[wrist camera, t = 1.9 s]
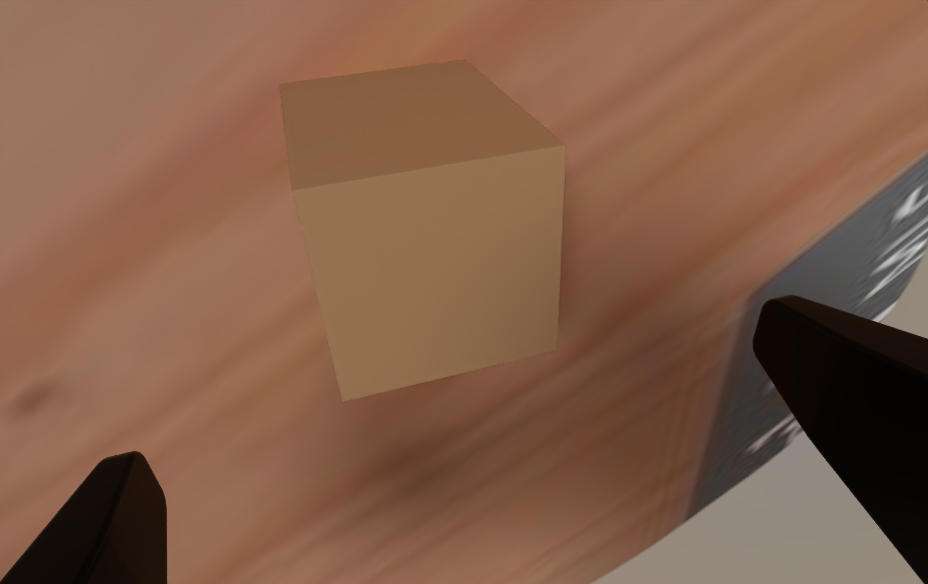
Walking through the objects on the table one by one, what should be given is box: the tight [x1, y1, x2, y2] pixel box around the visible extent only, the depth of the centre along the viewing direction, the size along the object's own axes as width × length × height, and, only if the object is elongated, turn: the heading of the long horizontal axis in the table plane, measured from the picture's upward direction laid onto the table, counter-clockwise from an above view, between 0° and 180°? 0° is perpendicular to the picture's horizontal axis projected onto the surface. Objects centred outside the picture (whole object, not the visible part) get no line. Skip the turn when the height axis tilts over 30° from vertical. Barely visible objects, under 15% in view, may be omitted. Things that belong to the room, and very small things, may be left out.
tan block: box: [279, 59, 566, 402], centre depth 13 cm, size 4×4×6 cm
